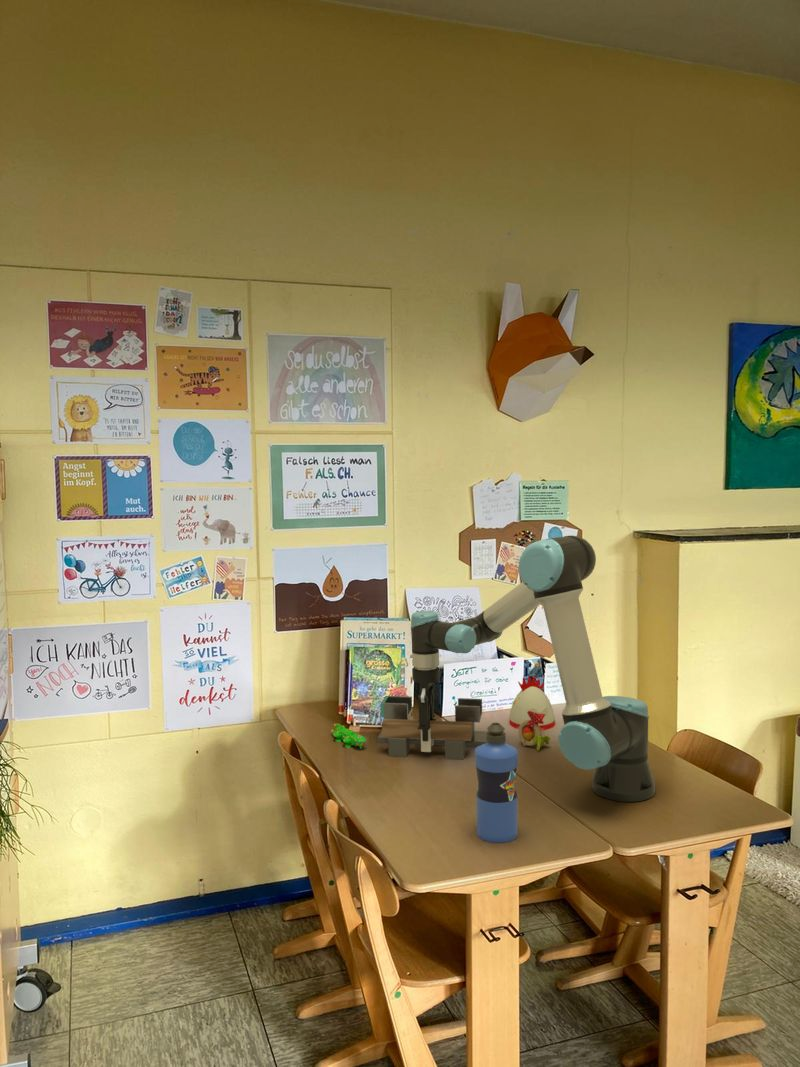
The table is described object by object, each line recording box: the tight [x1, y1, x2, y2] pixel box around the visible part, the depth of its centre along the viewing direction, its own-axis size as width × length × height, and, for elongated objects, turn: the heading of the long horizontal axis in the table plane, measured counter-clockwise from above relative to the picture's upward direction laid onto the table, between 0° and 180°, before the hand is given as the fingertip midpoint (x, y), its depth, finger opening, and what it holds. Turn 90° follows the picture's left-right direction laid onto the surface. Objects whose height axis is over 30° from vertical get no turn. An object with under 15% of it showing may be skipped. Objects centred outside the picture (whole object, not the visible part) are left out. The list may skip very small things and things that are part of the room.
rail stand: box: [376, 695, 489, 748], centre depth 245 cm, size 9×32×12 cm, turn 79°
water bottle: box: [474, 722, 519, 844], centre depth 183 cm, size 9×9×25 cm
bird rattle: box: [518, 711, 551, 752], centre depth 237 cm, size 6×11×9 cm
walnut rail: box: [381, 718, 472, 741], centre depth 233 cm, size 4×25×4 cm, turn 79°
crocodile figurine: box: [331, 723, 367, 750], centre depth 245 cm, size 7×18×4 cm, turn 33°
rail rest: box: [387, 738, 467, 761], centre depth 234 cm, size 6×21×5 cm, turn 79°
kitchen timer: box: [508, 675, 556, 732], centre depth 257 cm, size 14×14×15 cm
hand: (427, 748), depth 234 cm, fingers closed on walnut rail, 4 cm apart
